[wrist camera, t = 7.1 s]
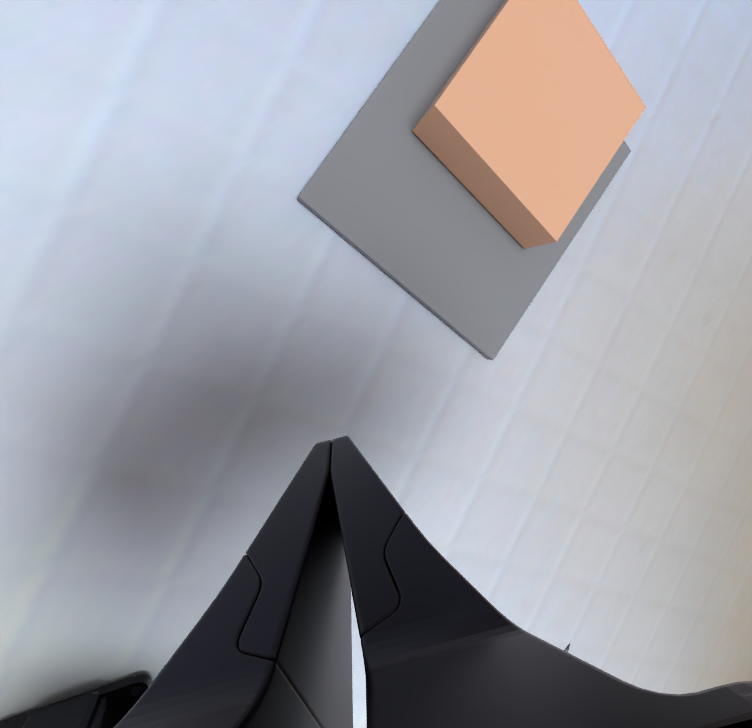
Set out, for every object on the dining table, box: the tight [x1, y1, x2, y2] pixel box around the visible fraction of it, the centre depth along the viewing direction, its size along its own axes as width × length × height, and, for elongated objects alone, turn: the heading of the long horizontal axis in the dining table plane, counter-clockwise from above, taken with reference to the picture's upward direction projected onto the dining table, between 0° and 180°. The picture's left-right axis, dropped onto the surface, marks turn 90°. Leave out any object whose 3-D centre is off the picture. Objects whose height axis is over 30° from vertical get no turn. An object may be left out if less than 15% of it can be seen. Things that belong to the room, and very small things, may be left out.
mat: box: [297, 0, 631, 360], centre depth 20 cm, size 16×14×1 cm
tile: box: [412, 0, 646, 249], centre depth 19 cm, size 3×9×9 cm
